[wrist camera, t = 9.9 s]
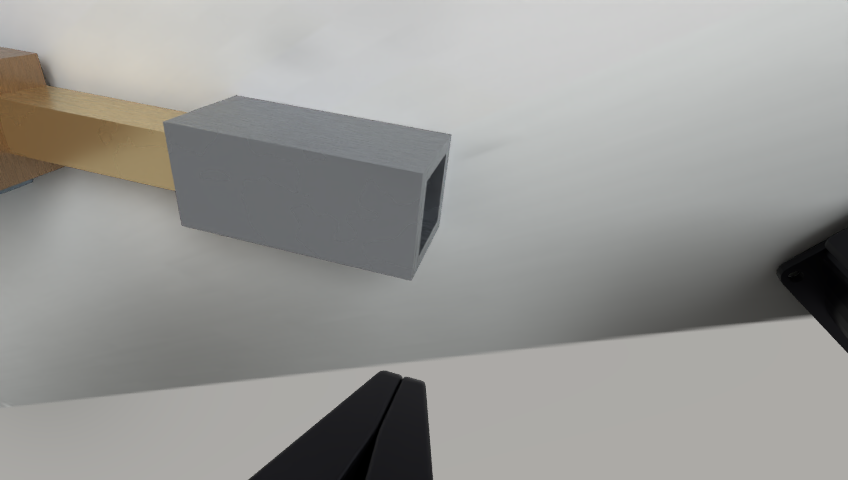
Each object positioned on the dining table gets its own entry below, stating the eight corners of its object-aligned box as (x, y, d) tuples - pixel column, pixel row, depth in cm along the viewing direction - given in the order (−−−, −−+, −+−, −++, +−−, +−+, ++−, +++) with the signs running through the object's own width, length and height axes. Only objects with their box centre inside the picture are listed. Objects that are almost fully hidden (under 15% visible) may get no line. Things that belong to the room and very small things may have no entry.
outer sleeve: (451, 134, 20) (423, 173, 16) (438, 226, 22) (411, 280, 18) (236, 95, 21) (162, 121, 17) (245, 184, 23) (181, 225, 20)
